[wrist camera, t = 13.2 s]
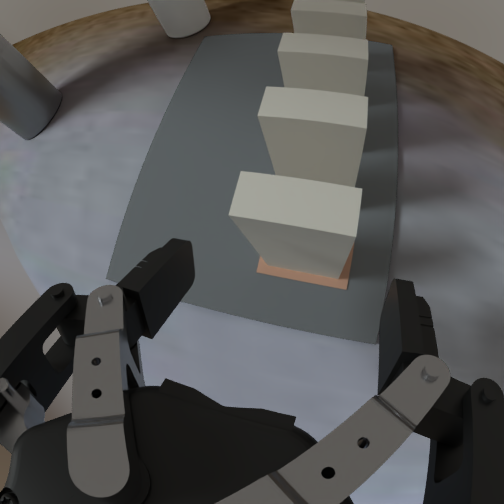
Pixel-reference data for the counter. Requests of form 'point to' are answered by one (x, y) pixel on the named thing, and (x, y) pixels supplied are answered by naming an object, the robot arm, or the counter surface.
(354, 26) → the domino
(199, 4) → the can
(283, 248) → the domino
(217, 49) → the slate mat
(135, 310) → the robot arm
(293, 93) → the domino
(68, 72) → the counter surface
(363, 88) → the domino
